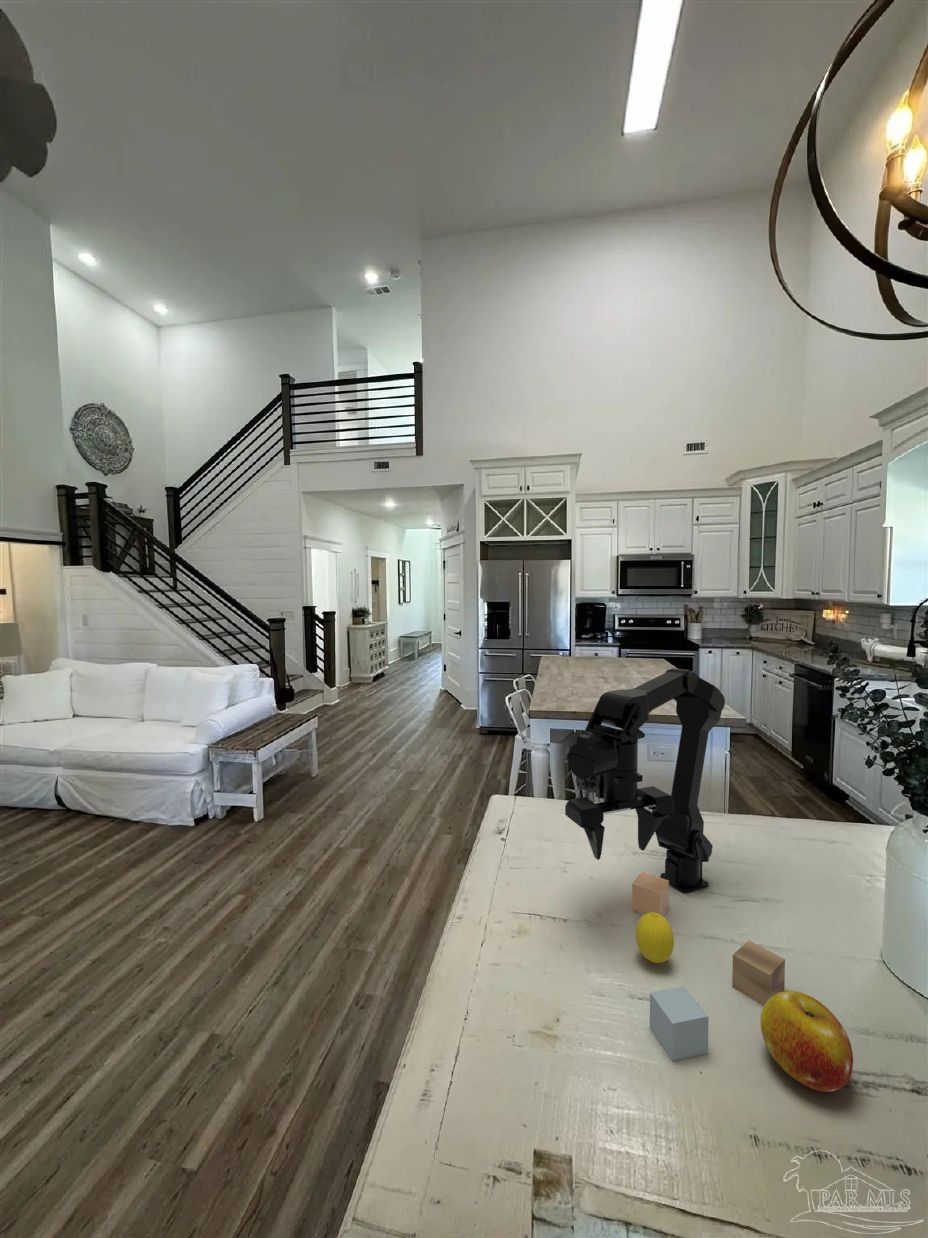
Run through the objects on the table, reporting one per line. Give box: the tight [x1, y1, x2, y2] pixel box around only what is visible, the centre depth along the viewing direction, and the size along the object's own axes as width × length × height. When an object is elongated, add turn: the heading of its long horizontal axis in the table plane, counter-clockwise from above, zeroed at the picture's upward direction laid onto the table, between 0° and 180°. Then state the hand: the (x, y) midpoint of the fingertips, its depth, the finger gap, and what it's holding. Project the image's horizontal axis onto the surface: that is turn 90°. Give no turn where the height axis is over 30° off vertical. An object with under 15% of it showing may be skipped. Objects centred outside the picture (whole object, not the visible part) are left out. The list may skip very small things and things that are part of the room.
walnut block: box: [731, 939, 786, 1007], centre depth 74 cm, size 5×5×5 cm
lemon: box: [635, 912, 675, 964], centre depth 80 cm, size 6×6×8 cm
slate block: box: [649, 985, 709, 1062], centre depth 66 cm, size 5×5×5 cm
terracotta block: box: [631, 871, 670, 917], centre depth 93 cm, size 5×5×5 cm
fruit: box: [760, 990, 854, 1093], centre depth 61 cm, size 10×9×8 cm
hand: (619, 854), depth 89 cm, fingers open, 9 cm apart
